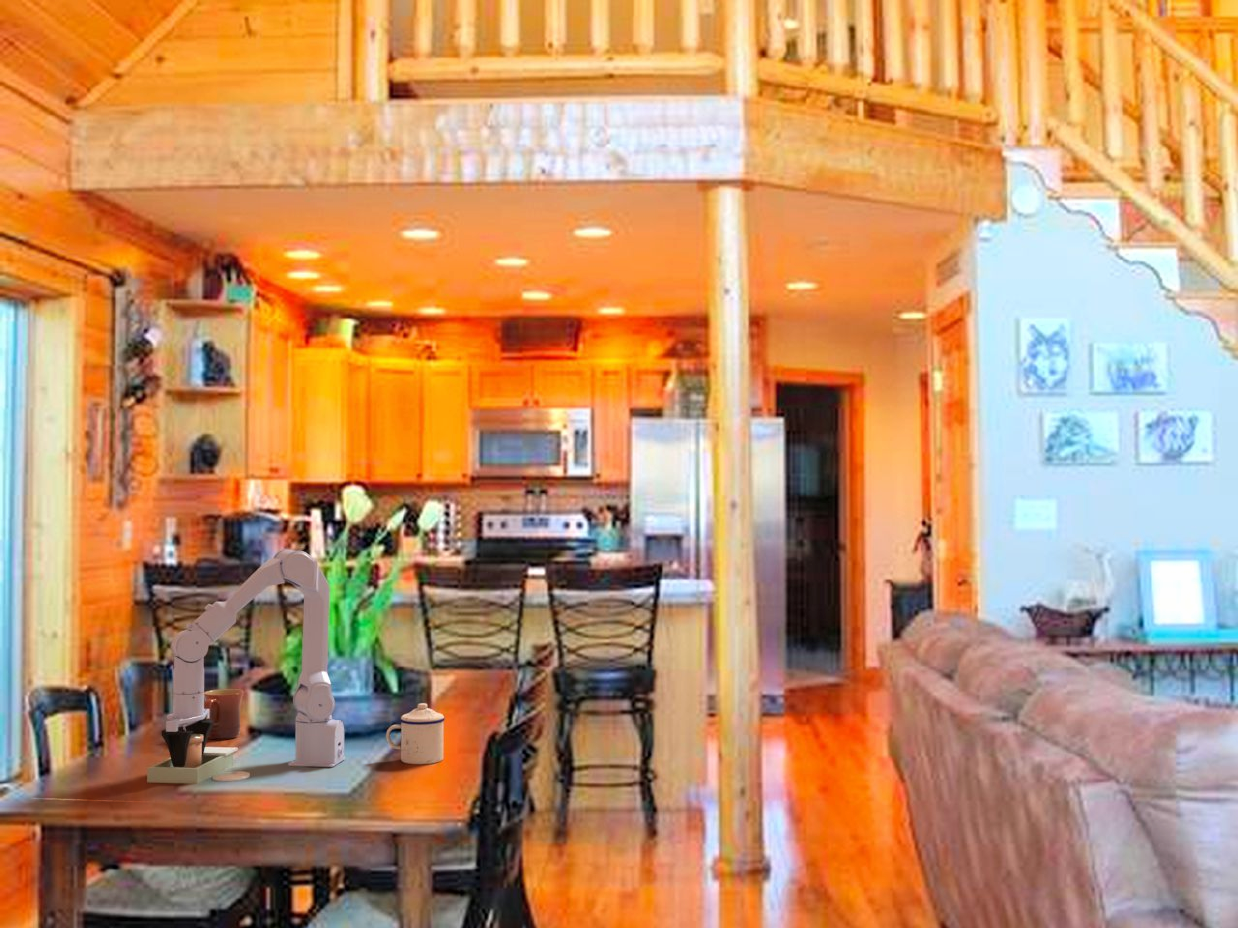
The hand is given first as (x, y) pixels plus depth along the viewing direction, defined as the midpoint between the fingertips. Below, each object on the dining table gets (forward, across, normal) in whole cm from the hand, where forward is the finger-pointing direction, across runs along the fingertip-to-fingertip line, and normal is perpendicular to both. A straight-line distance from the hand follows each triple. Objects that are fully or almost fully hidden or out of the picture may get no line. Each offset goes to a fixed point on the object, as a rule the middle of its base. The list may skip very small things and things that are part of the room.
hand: (187, 762), depth 241 cm
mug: (+3, -36, -10) cm, 38 cm away
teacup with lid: (+3, -20, +40) cm, 45 cm away
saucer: (+3, 0, +9) cm, 9 cm away
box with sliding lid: (+3, -2, 0) cm, 3 cm away
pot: (+2, 0, 0) cm, 2 cm away
